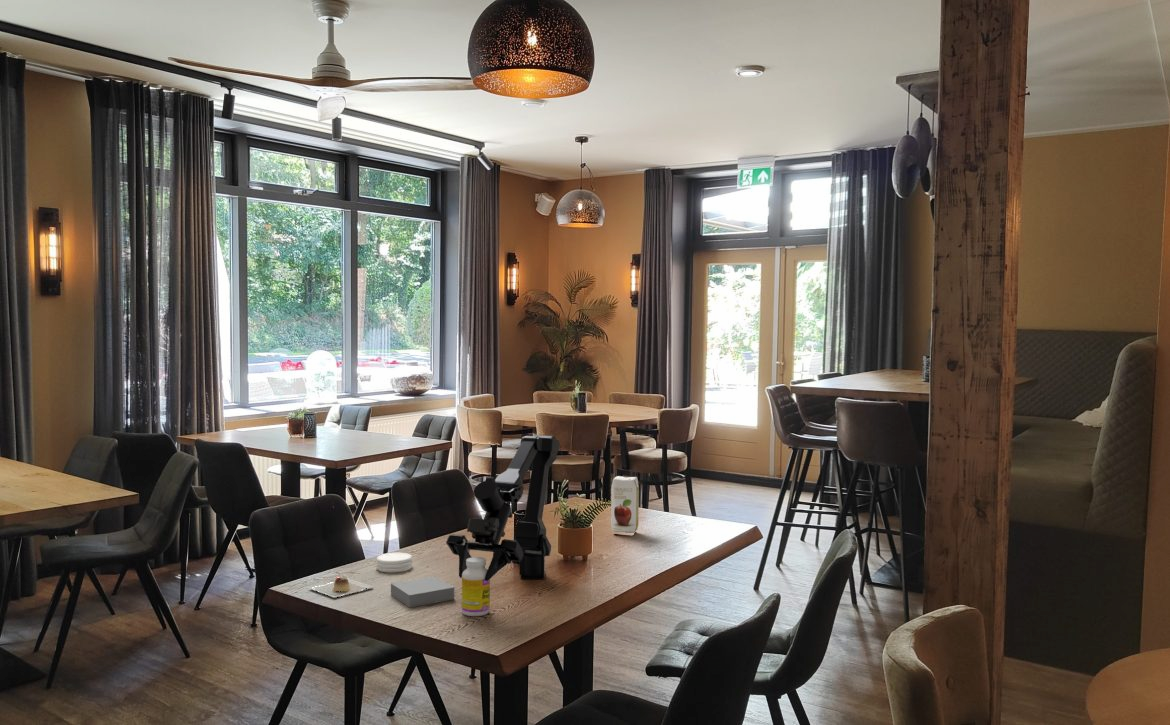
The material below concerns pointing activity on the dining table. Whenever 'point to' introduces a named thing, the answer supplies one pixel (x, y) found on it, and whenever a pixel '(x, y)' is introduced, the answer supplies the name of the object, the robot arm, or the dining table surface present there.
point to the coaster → (394, 562)
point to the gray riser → (422, 591)
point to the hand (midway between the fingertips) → (473, 578)
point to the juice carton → (624, 504)
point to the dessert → (342, 585)
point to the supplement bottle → (475, 588)
